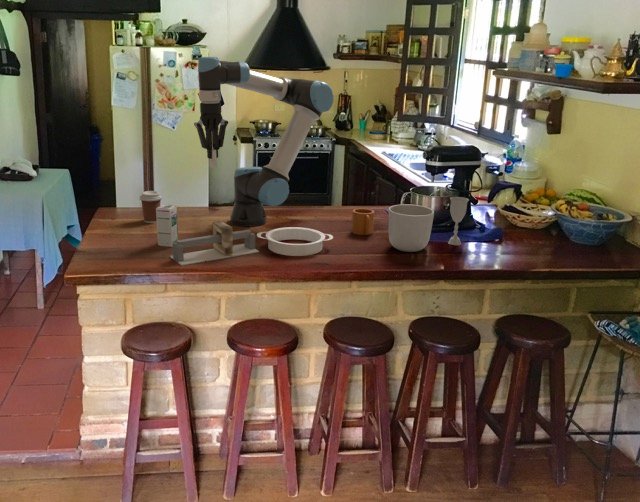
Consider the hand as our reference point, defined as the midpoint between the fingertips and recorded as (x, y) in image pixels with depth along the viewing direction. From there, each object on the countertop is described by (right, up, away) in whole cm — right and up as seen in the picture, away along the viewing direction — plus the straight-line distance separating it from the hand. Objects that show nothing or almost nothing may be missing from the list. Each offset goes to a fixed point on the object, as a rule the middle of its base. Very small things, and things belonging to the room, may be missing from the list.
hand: (213, 166), depth 238 cm
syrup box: (-17, -29, +1) cm, 33 cm away
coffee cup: (-30, -19, +29) cm, 46 cm away
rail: (+2, -32, -8) cm, 33 cm away
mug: (+57, -24, +24) cm, 66 cm away
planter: (+73, -30, +7) cm, 79 cm away
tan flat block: (+5, -31, -7) cm, 32 cm away
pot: (+30, -30, +4) cm, 43 cm away
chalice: (+92, -28, +16) cm, 98 cm away
